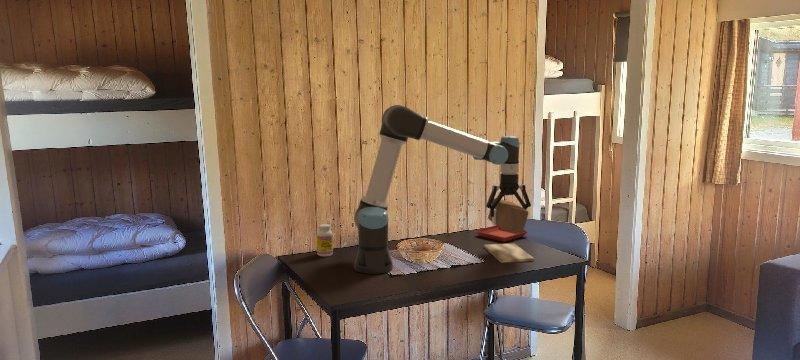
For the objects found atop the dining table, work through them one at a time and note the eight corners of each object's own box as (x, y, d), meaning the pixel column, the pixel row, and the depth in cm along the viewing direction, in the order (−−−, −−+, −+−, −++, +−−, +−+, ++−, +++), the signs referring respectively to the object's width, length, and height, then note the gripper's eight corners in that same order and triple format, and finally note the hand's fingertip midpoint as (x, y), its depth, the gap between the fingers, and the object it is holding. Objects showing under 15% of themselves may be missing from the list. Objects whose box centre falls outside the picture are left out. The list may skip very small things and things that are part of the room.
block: (513, 202, 275) (530, 211, 256) (507, 223, 276) (523, 234, 257) (492, 197, 273) (507, 205, 254) (486, 218, 275) (500, 229, 255)
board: (500, 262, 253) (501, 259, 253) (483, 247, 276) (483, 244, 276) (533, 261, 255) (533, 258, 255) (514, 246, 278) (514, 243, 278)
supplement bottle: (319, 257, 260) (319, 227, 258) (315, 253, 266) (314, 224, 264) (335, 255, 263) (334, 226, 261) (330, 251, 269) (329, 222, 267)
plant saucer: (504, 244, 284) (504, 237, 283) (474, 236, 297) (474, 230, 296) (528, 237, 295) (528, 230, 295) (498, 230, 309) (499, 224, 308)
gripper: (484, 175, 256) (483, 226, 259) (539, 173, 260) (538, 224, 263) (479, 172, 263) (478, 222, 267) (533, 171, 267) (531, 220, 270)
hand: (508, 223), depth 265 cm, fingers closed on block, 12 cm apart
